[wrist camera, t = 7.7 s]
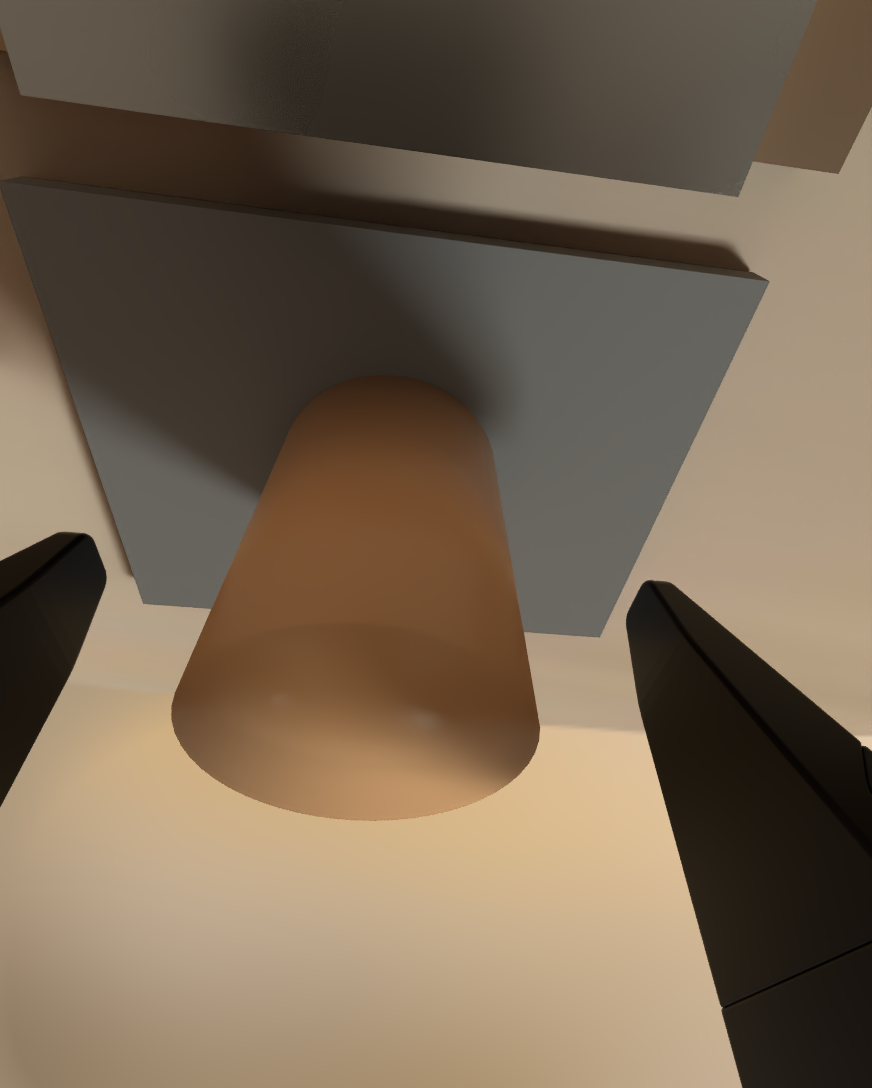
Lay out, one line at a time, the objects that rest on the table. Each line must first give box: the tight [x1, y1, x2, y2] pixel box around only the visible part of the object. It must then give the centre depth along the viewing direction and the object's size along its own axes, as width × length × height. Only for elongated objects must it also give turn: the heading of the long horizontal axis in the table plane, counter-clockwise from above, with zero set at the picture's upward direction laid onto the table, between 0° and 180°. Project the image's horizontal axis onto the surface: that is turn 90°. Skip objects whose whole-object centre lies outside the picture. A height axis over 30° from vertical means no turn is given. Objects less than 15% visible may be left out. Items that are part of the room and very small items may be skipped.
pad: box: [0, 177, 770, 637], centre depth 11 cm, size 12×9×1 cm
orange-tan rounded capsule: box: [172, 375, 540, 821], centre depth 9 cm, size 4×4×6 cm
